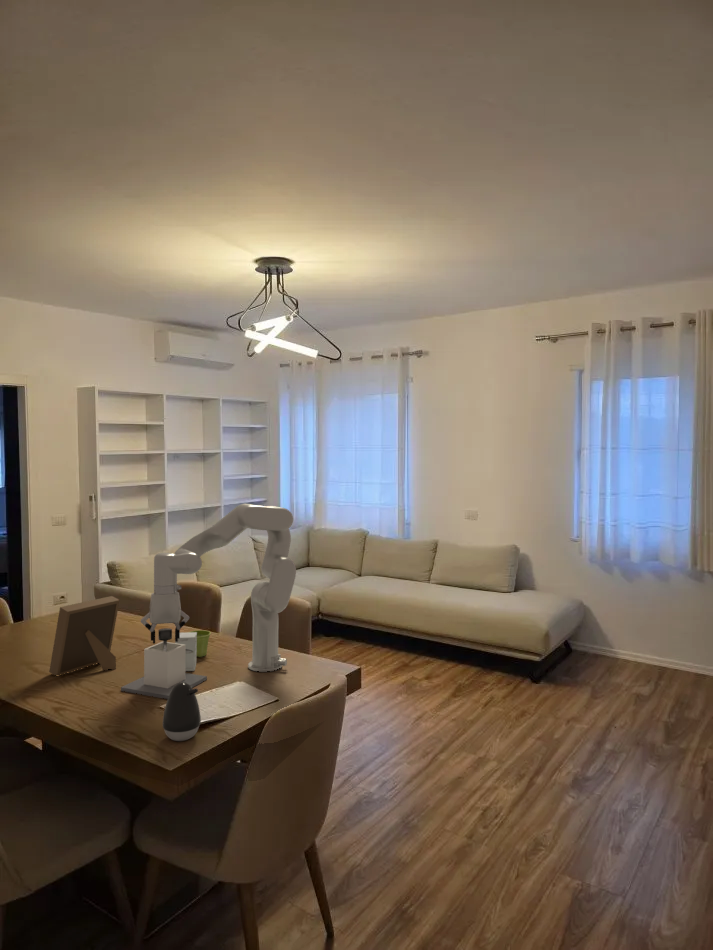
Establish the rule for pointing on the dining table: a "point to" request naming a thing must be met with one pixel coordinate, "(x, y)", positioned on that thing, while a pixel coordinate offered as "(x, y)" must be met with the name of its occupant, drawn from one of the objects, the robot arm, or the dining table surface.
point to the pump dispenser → (181, 713)
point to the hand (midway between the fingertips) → (165, 641)
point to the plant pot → (202, 642)
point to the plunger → (165, 636)
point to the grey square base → (163, 671)
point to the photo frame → (85, 636)
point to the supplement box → (189, 649)
